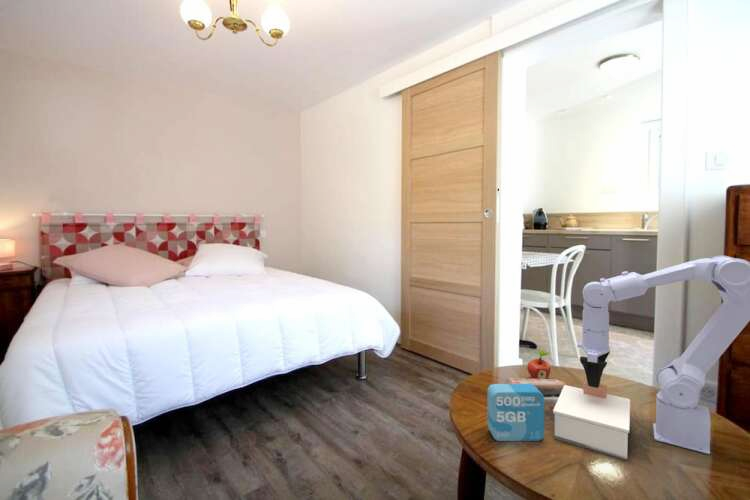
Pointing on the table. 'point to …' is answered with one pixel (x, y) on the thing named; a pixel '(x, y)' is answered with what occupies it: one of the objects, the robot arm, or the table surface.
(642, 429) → the table surface
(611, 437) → the carton
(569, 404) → the carton lid
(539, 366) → the apple
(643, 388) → the table surface
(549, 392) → the packaged product
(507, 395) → the data package
